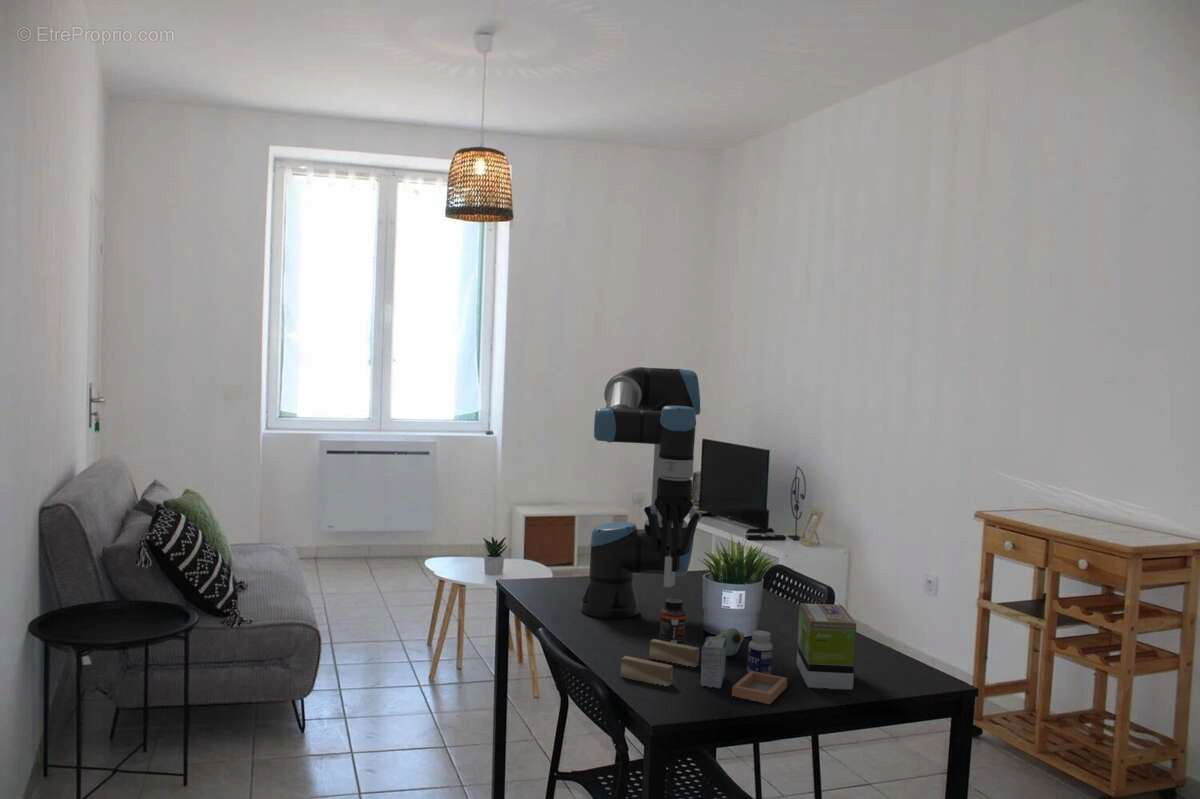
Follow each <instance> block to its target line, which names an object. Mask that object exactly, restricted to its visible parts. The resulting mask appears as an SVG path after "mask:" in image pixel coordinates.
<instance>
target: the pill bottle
mask: <svg viewBox="0 0 1200 799" xmlns="http://www.w3.org/2000/svg"><path fill="white" fill-rule="evenodd" d="M771 638H772V637H771V632H769V631H767V630H754V631H752V634H751V639H752V640H750V641H749V643H748V649H747V650H748V651H747V664H746V671H747V673H749V672H750V671H754V672H760V673H765V674H770V675H772V667H773V666H772V665H773V664H772V663H773V651H774V649H773V647H774V646H773V644H772V643H771V642H770V641H771V640H772V639H771Z"/></svg>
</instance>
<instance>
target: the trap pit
mask: <svg viewBox="0 0 1200 799" xmlns="http://www.w3.org/2000/svg"><path fill="white" fill-rule="evenodd" d="M787 686H788V677H784V676H779V675H774V674H765V673H760V672H754V671H750V672H747V673H746V674H745V675H744V676H743V677H742V678H740V679H739V680H738V681H737V682H736V683H735V684H734V685H733V686H732V687H731V688H732V689H731V697H733V696H735V697H734V698H738V697H739V699H744V700H747V699H748V700H749V701H753V702H757V701H758V702H757V703H762V704H766V705H770V704H772V702H774V700H776V699H777V698H778V696H780V694H781V693H783V692H784V691H785V690H786V689H787V688H788V687H787ZM748 700H747V701H748Z"/></svg>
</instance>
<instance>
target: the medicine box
mask: <svg viewBox="0 0 1200 799" xmlns="http://www.w3.org/2000/svg"><path fill="white" fill-rule="evenodd" d="M701 649H702V650H701V664H700V665H701V666H700V668H701V669H700V671H701V672H700V687H704V686H708V687H707V688H712V687H715V688H714V689H720V688H721V689H722V686H723V683H724V680H725V677H726V674H725V673H726V661H727V660H726V656H727V655H726V638H719V637H716V636H707V637H706V638H705V641H704V643H703V646H702V648H701Z"/></svg>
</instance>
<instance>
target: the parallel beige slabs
mask: <svg viewBox="0 0 1200 799" xmlns="http://www.w3.org/2000/svg"><path fill="white" fill-rule="evenodd" d="M699 652H700V648H699V647H696V646H691V645H687V644H684V645H682V644H676V643H671V642H666V641H661V640H659V639H654V638H653V639H651V640H650V641H649V652H648V653H649V655H648V657H649V658H650V659H649V658H648V659H649V660H647V659H643V658H638V657H633V656H628V655H624V656H623V657H621V658H620V659H621V660H620V678H624V679H629V680H634V681H638V682H642V681H643V683H648V684H652V683H653V685H656V684H659V685H658V686H661V685H664V686H663V687H666V686H669V685H670V686H672V685H673V673H674V669H673V668H674V664H673V663H677V664H676V665H678V664H682V665H681V666H683V665H686V666H685V667H688V666H692V667H691V668H693V667H695V668H696V666H697V665H698V666H699V655H700V654H699ZM653 659H656V660H655V661H654V660H653ZM652 660H653V661H652ZM658 660H661V661H660V662H659V661H658ZM657 661H658V662H657ZM663 661H666V662H665V663H663ZM668 662H672V663H671V664H673V665H671V664H667V663H668ZM698 666H697V667H698ZM671 684H672V685H671ZM670 686H669V687H670Z"/></svg>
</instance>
